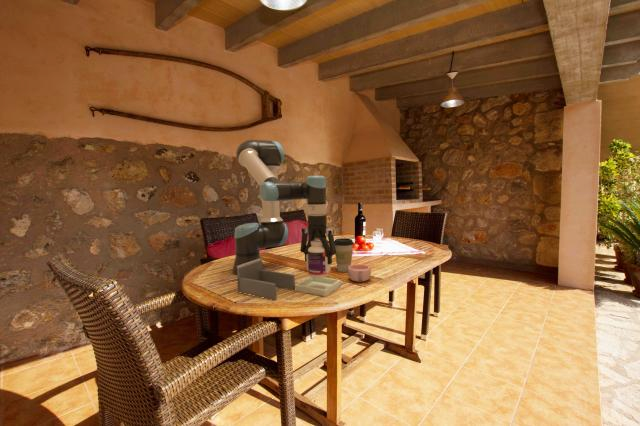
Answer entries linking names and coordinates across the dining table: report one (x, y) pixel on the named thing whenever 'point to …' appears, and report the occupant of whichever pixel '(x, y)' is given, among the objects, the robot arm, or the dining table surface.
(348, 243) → the coffee cup
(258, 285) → the bay
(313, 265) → the pill bottle
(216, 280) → the dining table surface
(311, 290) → the tray
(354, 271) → the mug
